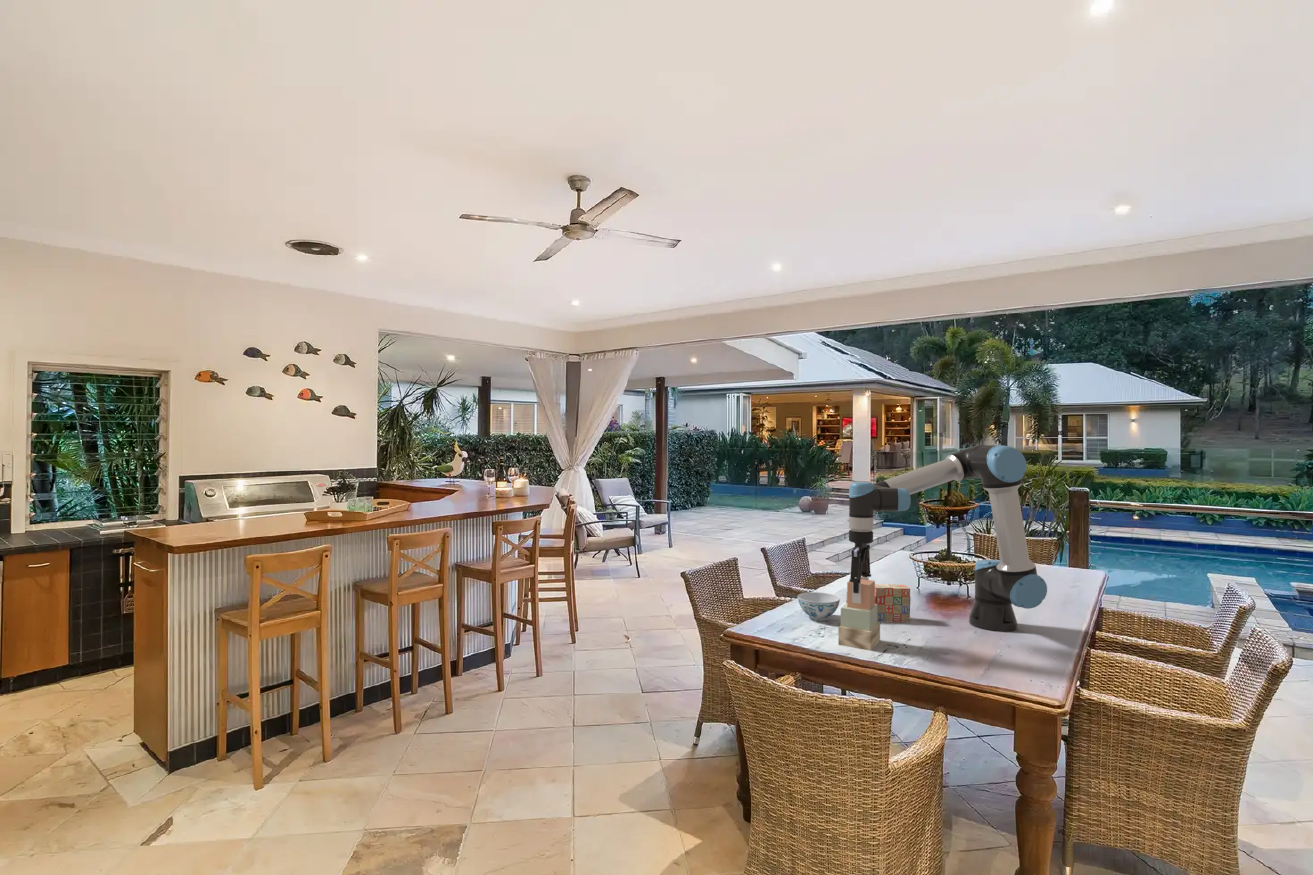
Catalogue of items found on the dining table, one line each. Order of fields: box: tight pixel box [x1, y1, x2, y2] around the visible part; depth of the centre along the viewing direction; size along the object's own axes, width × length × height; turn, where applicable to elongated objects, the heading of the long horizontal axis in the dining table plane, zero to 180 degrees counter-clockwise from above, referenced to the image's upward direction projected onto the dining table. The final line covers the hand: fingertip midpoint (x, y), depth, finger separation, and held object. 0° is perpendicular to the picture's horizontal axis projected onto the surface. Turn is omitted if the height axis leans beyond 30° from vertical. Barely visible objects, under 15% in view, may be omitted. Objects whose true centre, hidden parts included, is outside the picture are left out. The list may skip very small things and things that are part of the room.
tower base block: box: [837, 621, 881, 651], centre depth 213 cm, size 10×12×6 cm
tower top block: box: [840, 602, 878, 631], centre depth 213 cm, size 9×11×6 cm
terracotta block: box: [846, 579, 876, 610], centre depth 213 cm, size 7×7×8 cm
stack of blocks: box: [845, 583, 912, 623], centre depth 240 cm, size 21×6×12 cm, turn 87°
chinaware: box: [797, 591, 841, 622], centre depth 240 cm, size 15×15×8 cm
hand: (860, 599), depth 213 cm, fingers open, 8 cm apart
